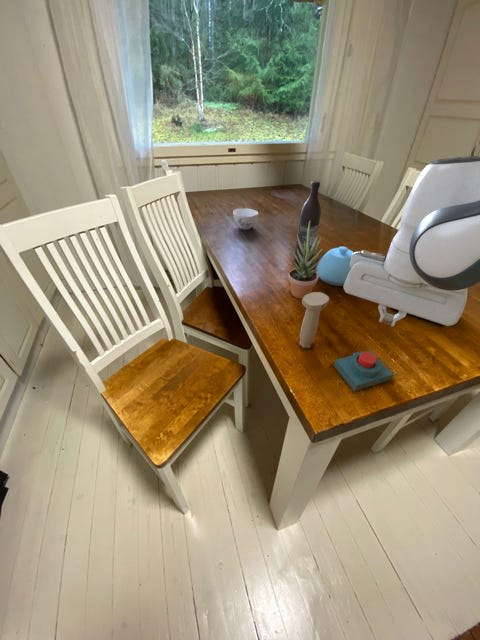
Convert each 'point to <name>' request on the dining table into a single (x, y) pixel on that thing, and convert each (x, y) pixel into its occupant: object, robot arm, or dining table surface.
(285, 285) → the dining table surface
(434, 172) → the robot arm
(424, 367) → the dining table surface
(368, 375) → the button block
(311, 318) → the handle
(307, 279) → the potted plant
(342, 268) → the sugar bowl
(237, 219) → the teacup
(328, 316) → the dining table surface
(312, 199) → the wine bottle
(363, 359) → the red button
